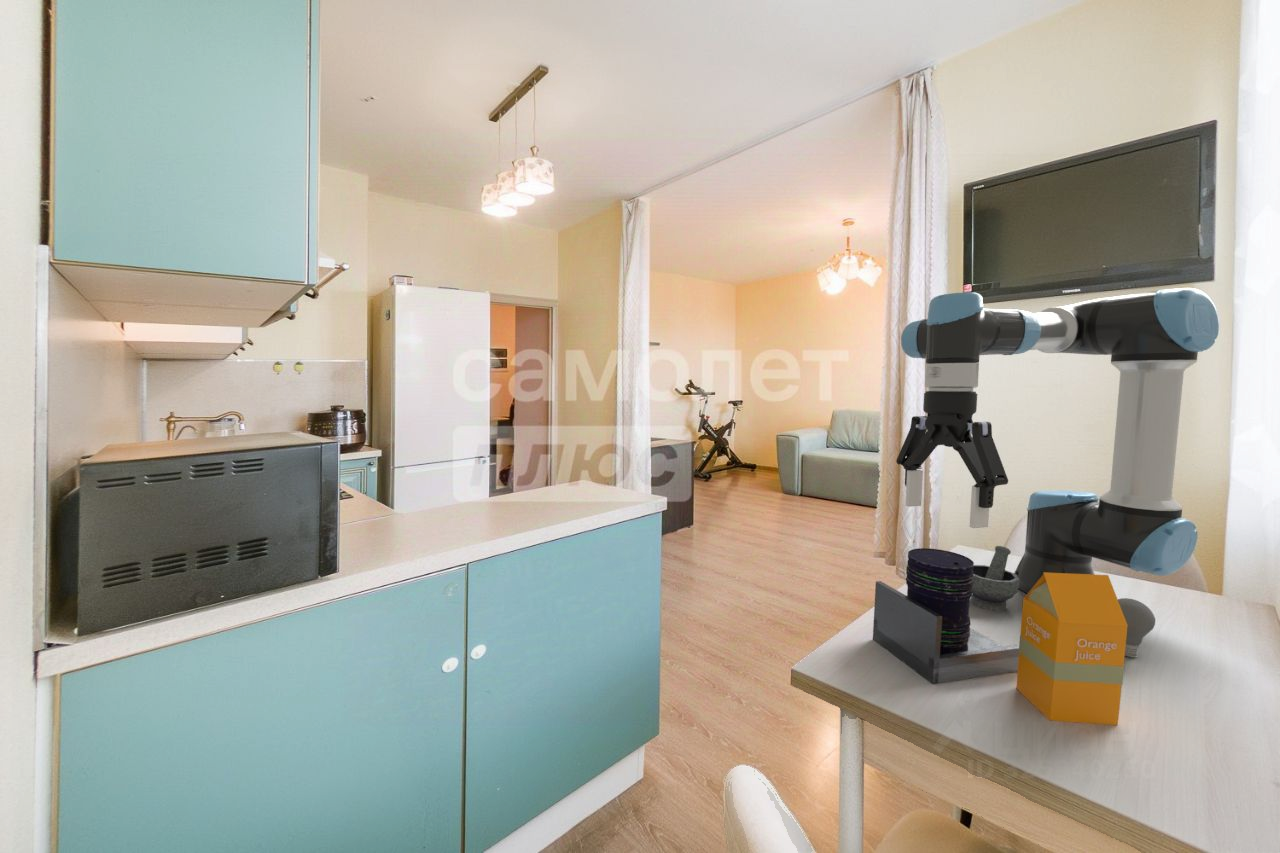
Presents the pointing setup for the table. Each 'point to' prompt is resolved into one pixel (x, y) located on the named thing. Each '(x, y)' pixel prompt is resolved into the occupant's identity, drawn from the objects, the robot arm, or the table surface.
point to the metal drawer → (933, 641)
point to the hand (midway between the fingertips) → (943, 515)
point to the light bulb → (1136, 623)
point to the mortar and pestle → (994, 582)
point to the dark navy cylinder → (943, 592)
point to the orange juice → (1073, 648)
